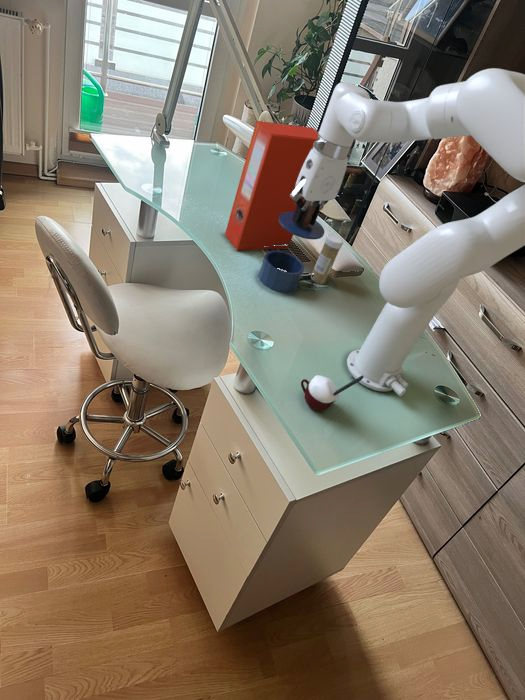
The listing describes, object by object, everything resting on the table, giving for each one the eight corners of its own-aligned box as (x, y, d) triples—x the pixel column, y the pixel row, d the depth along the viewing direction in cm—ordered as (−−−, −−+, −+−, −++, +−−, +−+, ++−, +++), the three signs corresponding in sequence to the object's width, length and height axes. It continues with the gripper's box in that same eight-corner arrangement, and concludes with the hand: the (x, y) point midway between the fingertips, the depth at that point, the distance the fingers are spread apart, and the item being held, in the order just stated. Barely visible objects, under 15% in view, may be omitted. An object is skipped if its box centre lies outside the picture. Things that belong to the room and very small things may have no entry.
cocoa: (292, 391, 101) (312, 349, 94) (315, 385, 105) (336, 343, 97) (319, 427, 96) (343, 384, 89) (342, 418, 100) (367, 377, 92)
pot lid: (332, 239, 120) (342, 215, 116) (296, 243, 114) (306, 218, 109) (303, 214, 126) (313, 190, 122) (268, 217, 119) (277, 191, 115)
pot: (303, 291, 131) (312, 271, 127) (273, 297, 125) (280, 276, 121) (280, 268, 136) (288, 248, 132) (250, 273, 130) (257, 252, 126)
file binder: (288, 249, 145) (328, 140, 125) (237, 251, 136) (272, 134, 116) (274, 234, 150) (311, 126, 130) (224, 235, 141) (255, 119, 121)
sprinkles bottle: (328, 284, 137) (347, 242, 129) (315, 286, 135) (334, 243, 126) (318, 274, 140) (336, 232, 131) (306, 276, 137) (324, 233, 129)
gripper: (314, 154, 100) (285, 234, 112) (368, 156, 110) (336, 229, 122) (292, 138, 104) (267, 216, 116) (346, 140, 114) (317, 212, 126)
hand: (303, 222), depth 119 cm, fingers closed on pot lid, 3 cm apart
